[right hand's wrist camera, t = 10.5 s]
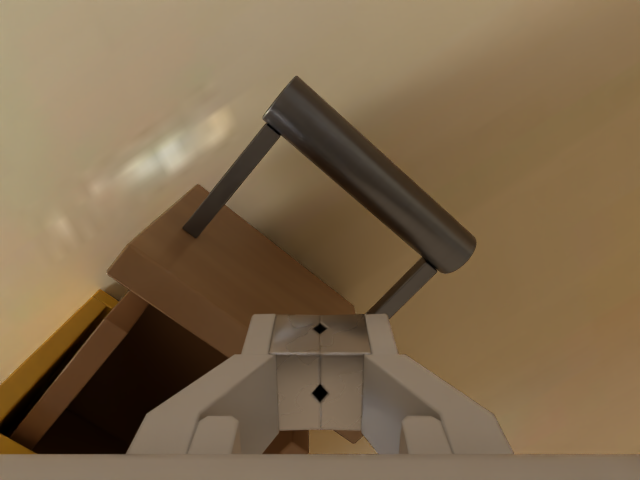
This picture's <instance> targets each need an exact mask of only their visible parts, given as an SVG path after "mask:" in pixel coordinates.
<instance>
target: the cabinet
mask: <svg viewBox="0 0 640 480" xmlns="http://www.w3.org/2000/svg"><path fill="white" fill-rule="evenodd" d="M118 302H119V301H117V300H116V299H114V298H113V297H112V296H110V295H109V294H107V293H106V292H104V291H103V290H101V289H100V290H98V291H97V292H96V293H95V294H94V295H93V296H92V297H91V298H90V299H89V300H88V301H87V302H86V303H85V304H84V305H83V306H82V307H81V308H80V309H79V310H77V311H76V312H75V313H74V314H73V315H72V316H71V317H70V318H69V319H68V320H67V321H66V322H65V323H64V324H63V325H62V326H61V327H60V328H59V329H58V330H57V331H56V332H55V333H54V334H53V335H52V336H50V337H49V338H48V339H47V340H46V341H45V342H44V343H43V344H42V345H41V346H40V347H39V348H38V349H37V350H36V351H35V352H34V353H33V354H32V355H31V356H30V357H29V358H28V359H27V360H26V361H24V362H23V363H22V364H21V365H20V366H19V367H18V368H17V369H16V370H15V371H14V372H13V373H12V374H11V375H10V376H9V377H8V378H7V379H6V380H5V381H4V382H3V383H2V384H1V385H0V454H37V453H35V452H33V451H31V450H29V449H28V448H26V447H24V446H22V445H20V444H19V443H17V442H15V441H13V440H11V439H10V438H9V437H10V436H11V435H12V433H13V432H14V431H15V430H16V428H17V427H18V426H19V425H20V423H21V422H22V421H23V420H24V418H25V417H26V416H27V415H28V413H29V412H30V411H31V410H32V408H33V407H34V406H35V405H36V403H37V402H38V401H39V400H40V398H41V397H42V396H43V395H44V393H45V392H46V391H47V390H48V388H49V387H50V386H51V384H52V383H53V382H54V381H55V379H56V378H57V377H58V376H59V374H60V373H61V372H62V371H63V369H64V368H65V367H66V366H67V364H68V363H69V362H70V361H71V359H72V358H73V357H74V356H75V354H76V353H77V352H78V351H79V349H80V348H81V347H82V346H83V344H84V343H85V342H86V341H87V339H88V338H89V337H90V336H91V334H92V333H93V332H94V331H95V329H96V328H97V327H98V326H99V324H100V323H101V322H102V321H103V319H104V318H105V317H106V316H107V315H108V314H109V313H110V311H111V310H112V309H113V308H114V307H115V306H116V305H117V304H118Z"/></svg>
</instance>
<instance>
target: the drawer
mask: <svg viewBox="0 0 640 480" xmlns="http://www.w3.org/2000/svg"><path fill="white" fill-rule="evenodd" d="M262 119H263V120H264V121H265V122H266V124H265V125H264V126H263V127H262V129H261V130H260V131H259V132H258V134H257V135H256V136H255V137H254V139H253V140H252V141H251V142H250V144H249V145H248V146H247V147H246V149H245V150H244V151H243V152H242V154H241V155H240V156H239V157H238V159H237V160H236V161H235V162H234V164H233V165H232V166H231V167H230V169H229V170H228V171H227V172H226V174H225V175H224V176H223V177H222V179H221V180H220V181H219V182H218V184H217V185H216V186H215V187H214V189H213V190H212V191H211V192H210V193H209V192H208V191H207V190H205V189H204V188H203V187H201V186H200V185H199V184H197V185H195V186H194V187H193V188H192V189H191V190H190V191H188V192H187V193H186V194H185V195H184V196H183V197H182V198H180V199H179V200H178V201H177V202H176V203H175V204H173V205H172V206H171V207H170V208H169V209H168V210H166V211H165V212H164V213H163V214H162V215H161V216H159V217H158V218H157V219H156V220H155V221H154V222H152V223H151V224H150V225H149V226H148V227H147V228H145V229H144V230H143V231H142V232H141V233H140V234H139V235H137V236H136V237H135V238H134V239H133V240H132V241H130V242H129V243H128V244H127V245H126V247H125V248H124V249H123V250H122V252H121V253H120V254H119V256H118V257H117V258H116V259H115V261H114V262H113V263H112V265H111V266H110V267H109V269H108V270H107V275H109V276H110V277H111V278H113V279H114V280H116V281H117V282H119V283H120V284H122V285H123V286H125V287H126V288H127V289H129V291H128V292H127V293H126V295H125V296H124V297H123V298H122V299H121V300H120V301H119V302H118V304H117V305H116V306H115V307H114V308H113V309H112V310H111V311H110V313H109V314H108V315H107V316H106V317H105V318H104V319H103V321H102V322H101V323H100V324H99V326H98V327H97V328H96V329H95V331H94V332H93V333H92V334H91V336H90V337H89V338H88V339H87V341H86V342H85V343H84V344H83V346H82V347H81V348H80V349H79V351H78V352H77V353H76V354H75V356H74V357H73V358H72V359H71V361H70V362H69V363H68V364H67V366H66V367H65V368H64V369H63V371H62V372H61V373H60V374H59V376H58V377H57V378H56V379H55V381H54V382H53V383H52V384H51V386H50V387H49V388H48V390H47V391H46V392H45V393H44V395H43V396H42V397H41V398H40V400H39V401H38V402H37V403H36V405H35V406H34V407H33V408H32V410H31V411H30V412H29V413H28V415H27V416H26V417H25V418H24V420H23V421H22V422H21V423H20V425H19V426H18V427H17V428H16V430H15V431H14V432H13V433H12V435H11V436H10V437H9V438H10V439H11V440H13V441H15V442H17V443H19V444H20V445H22V446H24V447H26V448H28V449H29V450H31V451H33V452H35V453H37V454H126V452H127V450H128V448H129V447H130V445H131V443H132V441H133V439H134V437H135V435H136V433H137V431H138V429H139V427H140V425H141V423H142V422H143V420H144V418H145V416H146V414H147V413H148V412H150V411H151V410H153V409H154V408H156V407H157V406H159V405H160V404H162V403H163V402H165V401H166V400H168V399H169V398H171V397H172V396H174V395H175V394H177V393H178V392H180V391H181V390H183V389H184V388H186V387H187V386H188V385H190V384H191V383H193V382H194V381H196V380H197V379H199V378H200V377H202V376H203V375H205V374H206V373H208V372H209V371H211V370H212V369H214V368H215V367H217V366H218V365H220V364H221V363H223V362H224V361H226V360H227V359H229V358H230V357H232V356H233V355H234V354H241V353H242V349H243V346H244V342H245V339H246V335H247V332H248V328H249V325H250V321H251V318H252V316H253V315H254V314H276V315H277V314H296V315H351V314H355V310H354V306H353V305H352V304H351V303H349V302H348V301H347V300H345V299H344V298H343V297H342V296H340V295H339V294H338V293H337V292H335V291H334V290H333V289H331V288H330V287H329V286H328V285H326V284H325V283H324V282H323V281H321V280H320V279H319V278H317V277H316V276H315V275H314V274H312V273H311V272H310V271H309V270H307V269H306V268H305V267H303V266H302V265H301V264H300V263H298V262H297V261H296V260H294V259H293V258H292V257H291V256H289V255H288V254H287V253H286V252H284V251H283V250H282V249H280V248H279V247H278V246H277V245H275V244H274V243H273V242H272V241H270V240H269V239H268V238H266V237H265V236H264V235H263V234H261V233H260V232H259V231H258V230H256V229H255V228H254V227H252V226H251V225H250V224H249V223H247V222H246V221H245V220H244V219H242V218H241V217H240V216H238V215H237V214H236V213H235V212H233V211H232V210H231V209H229V208H228V207H227V206H226V205H225V203H226V202H227V201H228V200H229V198H230V197H231V196H232V195H233V194H234V192H235V191H236V190H237V189H238V188H239V186H240V185H241V184H242V183H243V181H244V180H245V179H246V178H247V177H248V175H249V174H250V173H251V172H252V170H253V169H254V168H255V167H256V166H257V164H258V163H259V162H260V161H261V159H262V158H263V157H264V156H265V155H266V153H267V152H268V151H269V150H270V148H271V147H272V146H273V145H274V144H275V142H276V141H277V140H278V139H279V137H280V136H283V137H284V138H285V139H286V140H287V141H288V142H289V143H291V144H292V145H293V146H294V147H295V148H296V149H298V150H299V151H300V152H301V153H302V154H303V155H305V156H306V157H307V158H308V159H309V160H310V161H312V162H313V163H314V164H315V165H316V166H317V167H319V168H320V169H321V170H322V171H323V172H324V173H326V174H327V175H328V176H329V177H330V178H331V179H332V180H334V181H335V182H336V183H337V184H338V185H339V186H341V187H342V188H343V189H344V190H345V191H346V192H348V193H349V194H350V195H351V196H352V197H353V198H355V199H356V200H357V201H358V202H359V203H360V204H362V205H363V206H364V207H365V208H366V209H367V210H369V211H370V212H371V213H372V214H373V215H374V216H376V217H377V218H378V219H379V220H380V221H381V222H382V223H384V224H385V225H386V226H387V227H388V228H389V229H391V230H392V231H393V232H394V233H395V234H396V235H398V236H399V237H400V238H401V239H402V240H403V241H405V242H406V243H407V244H408V245H409V246H410V247H412V248H413V249H414V250H415V251H416V252H417V253H419V254H420V255H421V256H422V258H421V259H420V260H419V261H418V262H417V263H416V264H415V265H414V266H413V267H412V268H411V269H410V270H409V271H408V272H407V273H406V274H405V275H404V276H403V277H402V278H401V279H400V280H399V281H398V282H397V283H396V284H395V285H394V286H393V287H392V288H391V289H390V290H389V291H388V292H387V293H386V294H385V295H384V296H383V297H382V298H381V299H380V300H379V301H378V302H377V303H376V304H375V305H374V306H373V307H372V308H371V309H370V310H369V311H368V312H367V313H366V314H387V315H388V318H389V319H390V318H391V317H392V316H393V315H394V314H395V313H396V312H397V311H398V310H399V309H400V308H401V307H402V306H403V305H404V304H405V303H406V302H407V301H408V300H409V299H410V298H411V297H412V296H413V295H414V294H415V293H416V292H417V291H418V290H419V289H420V288H421V287H422V286H423V285H424V284H425V283H426V282H427V281H428V280H429V279H430V278H432V277H433V276H434V275H435V274H436V272H437V270H438V271H439V272H441V273H444V274H447V273H451V272H454V271H456V270H457V269H459V268H460V267H461V266H463V265H464V264H465V263H466V262H467V261H468V259H469V258H470V257H471V255H472V254H473V252H474V250H475V247H476V239H475V237H474V236H473V235H472V234H471V233H470V232H468V231H467V230H466V229H465V228H464V227H463V226H462V225H461V224H460V223H459V222H457V221H456V220H455V219H454V218H453V217H452V216H451V215H450V214H449V213H448V212H446V211H445V210H444V209H443V208H442V207H441V206H440V205H439V204H438V203H437V202H435V201H434V200H433V199H432V198H431V197H430V196H429V195H428V194H427V193H426V192H424V191H423V190H422V189H421V188H420V187H419V186H418V185H417V184H416V183H415V182H413V181H412V180H411V179H410V178H409V177H408V176H407V175H406V174H405V173H404V172H402V171H401V170H400V169H399V168H398V167H397V166H396V165H395V164H394V163H393V162H392V161H390V160H389V159H388V158H387V157H386V156H385V155H384V154H383V153H382V152H381V151H379V150H378V149H377V148H376V147H375V146H374V145H373V144H372V143H371V142H370V141H368V140H367V139H366V138H365V137H364V136H363V135H362V134H361V133H360V132H359V131H357V130H356V129H355V128H354V127H353V126H352V125H351V124H350V123H349V122H348V121H346V120H345V119H344V118H343V117H342V116H341V115H340V114H339V113H338V112H337V111H335V110H334V109H333V108H332V107H331V106H330V105H329V104H328V103H327V102H326V101H324V100H323V99H322V98H321V97H320V96H319V95H318V94H317V93H316V92H315V91H313V90H312V89H311V88H310V87H309V86H308V85H307V84H306V83H305V82H304V81H302V80H301V79H300V78H299V77H298V76H295V77H294V78H293V79H292V80H291V81H290V82H289V84H288V85H287V86H286V87H285V88H284V90H283V91H282V92H281V93H280V94H279V96H278V97H277V98H276V100H275V101H274V102H273V103H272V105H271V106H270V107H269V109H268V110H267V111H266V113H265V114H264V115H263V118H262ZM436 269H437V270H436ZM334 431H335V432H337V433H338V434H340V435H341V436H343V437H344V438H346V439H347V440H348V441H350V442H351V443H356V442H357V441H358V440H359V439H360V438H361V437H362V436H364V435H363V434H362V433H361V431H356V430H334ZM308 453H309V430H284V431H279V433H278V435H277V436H276V437H275V438H274V440H273V441H272V442H271V443H270V445H269V446H268V447H267V448H266V450H265V451H264V452H263V453H262V454H308Z"/></svg>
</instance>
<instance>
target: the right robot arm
mask: <svg viewBox="0 0 640 480" xmlns="http://www.w3.org/2000/svg"><path fill="white" fill-rule="evenodd" d="M319 429H320V430H356V431H361V433H362V434H363V435H364V437H365V438H366V439H367V440H368V442H369V443H370V444H371V445H372V447H373V448H374V449H375V450H376V452H377V453H378V454H262V453H263V452H264V451H265V450H266V448H267V447H268V446H269V445H270V443H271V442H272V441H273V440H274V438H275V437H276V436H277V435H278V433H279V431H284V430H319ZM0 480H640V454H514V452H513V450H512V448H511V446H510V445H509V443H508V441H507V439H506V437H505V435H504V433H503V431H502V429H501V427H500V425H499V423H498V421H497V419H496V417H495V415H494V414H493V413H491V412H490V411H488V410H487V409H485V408H484V407H482V406H481V405H479V404H478V403H476V402H475V401H473V400H472V399H471V398H469V397H468V396H466V395H465V394H463V393H462V392H460V391H459V390H457V389H456V388H454V387H453V386H451V385H450V384H448V383H447V382H445V381H444V380H442V379H441V378H440V377H438V376H437V375H435V374H434V373H432V372H431V371H429V370H428V369H426V368H425V367H423V366H422V365H420V364H419V363H417V362H416V361H414V360H413V359H411V358H410V357H408V356H407V355H406V354H399V353H398V349H397V346H396V342H395V339H394V335H393V332H392V329H391V325H390V322H389V318H388V315H387V314H351V315H296V314H277V315H276V314H254V315H253V316H252V318H251V321H250V325H249V328H248V332H247V335H246V339H245V342H244V346H243V349H242V353H241V354H234V355H233V356H232V357H230V358H229V359H227V360H226V361H224V362H223V363H221V364H220V365H218V366H217V367H215V368H214V369H212V370H211V371H209V372H208V373H206V374H205V375H203V376H202V377H200V378H199V379H197V380H196V381H194V382H193V383H191V384H190V385H188V386H187V387H186V388H184V389H183V390H181V391H180V392H178V393H177V394H175V395H174V396H172V397H171V398H169V399H168V400H166V401H165V402H163V403H162V404H160V405H159V406H157V407H156V408H154V409H153V410H151V411H150V412H148V413H147V414H146V416H145V418H144V420H143V422H142V423H141V425H140V427H139V429H138V431H137V433H136V435H135V437H134V439H133V441H132V443H131V445H130V447H129V448H128V450H127V452H126V454H0Z"/></svg>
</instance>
